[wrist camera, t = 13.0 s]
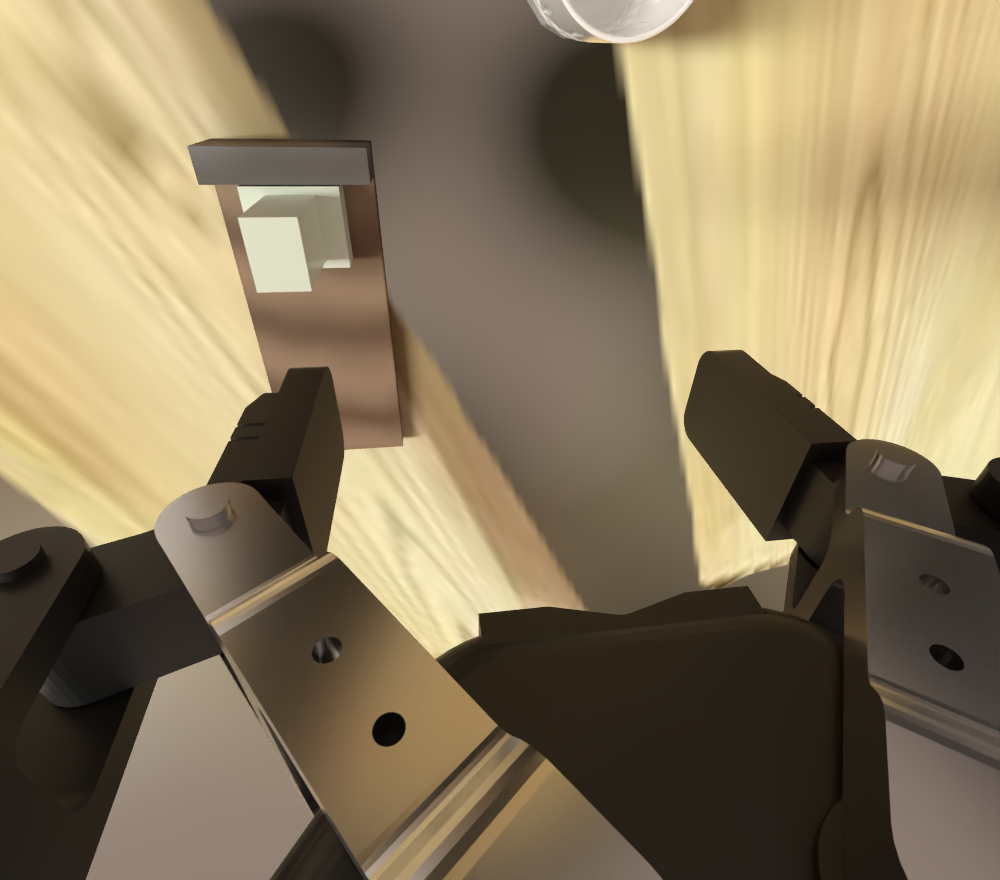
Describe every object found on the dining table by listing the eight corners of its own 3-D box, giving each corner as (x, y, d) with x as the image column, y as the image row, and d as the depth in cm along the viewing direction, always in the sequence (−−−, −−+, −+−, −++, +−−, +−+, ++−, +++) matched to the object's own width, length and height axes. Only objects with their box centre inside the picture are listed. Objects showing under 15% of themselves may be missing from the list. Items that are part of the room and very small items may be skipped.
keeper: (245, 180, 33) (203, 207, 26) (341, 180, 33) (324, 206, 27) (264, 260, 35) (231, 301, 29) (353, 258, 36) (340, 299, 30)
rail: (209, 138, 32) (187, 146, 29) (370, 140, 34) (366, 147, 30) (291, 443, 46) (282, 471, 43) (403, 437, 48) (402, 463, 44)
